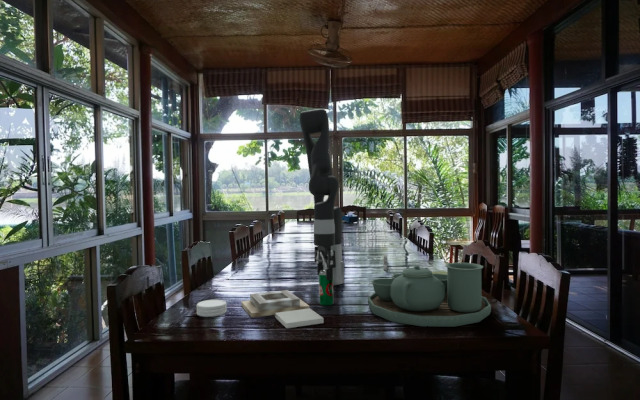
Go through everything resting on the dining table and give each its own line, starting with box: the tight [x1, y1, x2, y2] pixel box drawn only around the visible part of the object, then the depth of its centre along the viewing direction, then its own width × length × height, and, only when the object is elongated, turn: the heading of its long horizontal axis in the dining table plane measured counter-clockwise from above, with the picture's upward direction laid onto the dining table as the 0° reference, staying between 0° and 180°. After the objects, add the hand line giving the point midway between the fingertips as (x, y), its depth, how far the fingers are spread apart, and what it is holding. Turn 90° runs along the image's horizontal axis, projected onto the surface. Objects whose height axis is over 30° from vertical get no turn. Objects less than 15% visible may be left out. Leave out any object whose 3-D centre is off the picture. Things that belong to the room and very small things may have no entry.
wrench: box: [382, 254, 388, 271], centre depth 225 cm, size 8×2×30 cm
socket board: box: [240, 289, 310, 319], centre depth 153 cm, size 20×16×4 cm
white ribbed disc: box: [195, 299, 228, 318], centre depth 149 cm, size 10×10×4 cm
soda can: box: [318, 270, 334, 307], centre depth 156 cm, size 5×5×12 cm
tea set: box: [367, 262, 492, 328], centre depth 148 cm, size 40×40×16 cm
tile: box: [274, 307, 325, 329], centre depth 139 cm, size 12×12×2 cm
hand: (324, 277), depth 156 cm, fingers open, 8 cm apart
